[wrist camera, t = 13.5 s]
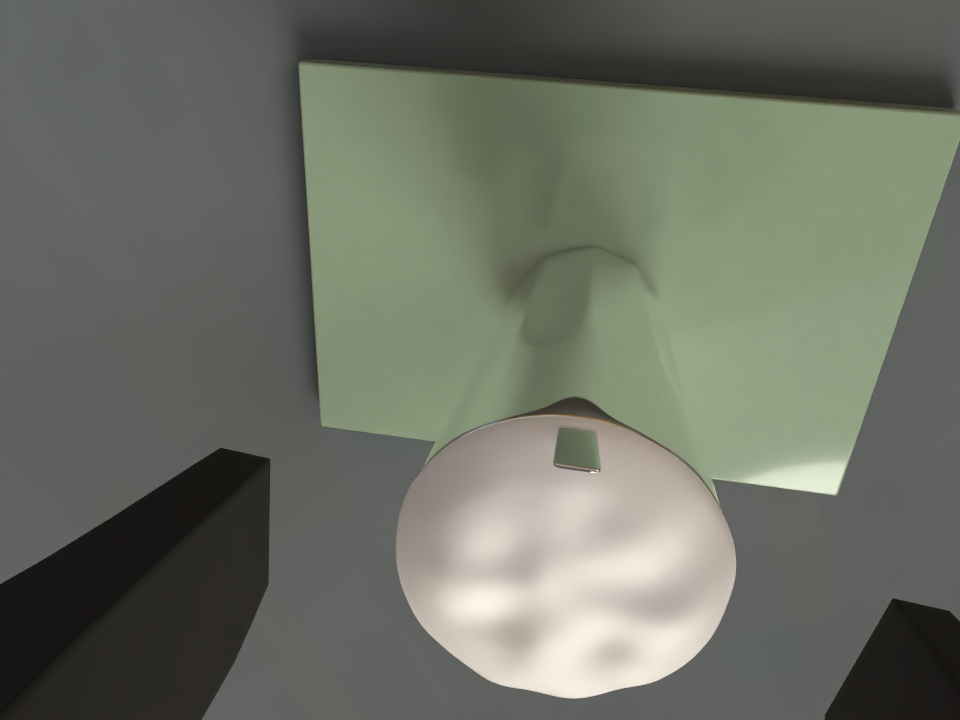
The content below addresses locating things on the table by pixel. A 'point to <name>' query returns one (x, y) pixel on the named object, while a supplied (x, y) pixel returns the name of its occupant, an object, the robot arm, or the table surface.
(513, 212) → the tile
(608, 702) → the table surface
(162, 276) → the table surface
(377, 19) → the table surface
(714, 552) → the milkshake
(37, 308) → the table surface
